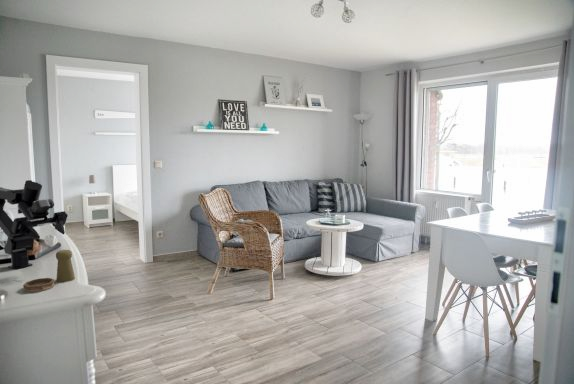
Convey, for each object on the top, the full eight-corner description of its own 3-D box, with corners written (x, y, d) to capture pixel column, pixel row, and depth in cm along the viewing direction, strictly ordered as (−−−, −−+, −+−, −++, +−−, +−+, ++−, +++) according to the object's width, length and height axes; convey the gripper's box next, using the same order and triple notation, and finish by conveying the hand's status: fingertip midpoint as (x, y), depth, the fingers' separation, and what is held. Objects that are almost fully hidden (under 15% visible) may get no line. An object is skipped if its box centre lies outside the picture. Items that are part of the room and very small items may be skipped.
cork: (66, 282, 144) (64, 252, 143) (52, 281, 146) (50, 252, 144) (78, 277, 150) (76, 248, 149) (64, 276, 152) (62, 247, 150)
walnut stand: (18, 289, 138) (18, 284, 138) (44, 282, 145) (44, 276, 145) (33, 293, 134) (33, 288, 133) (59, 285, 141) (59, 280, 141)
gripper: (9, 196, 146) (30, 222, 140) (60, 191, 162) (81, 214, 156) (3, 221, 150) (23, 247, 144) (53, 213, 166) (74, 237, 160)
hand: (52, 235), depth 151 cm, fingers open, 9 cm apart
